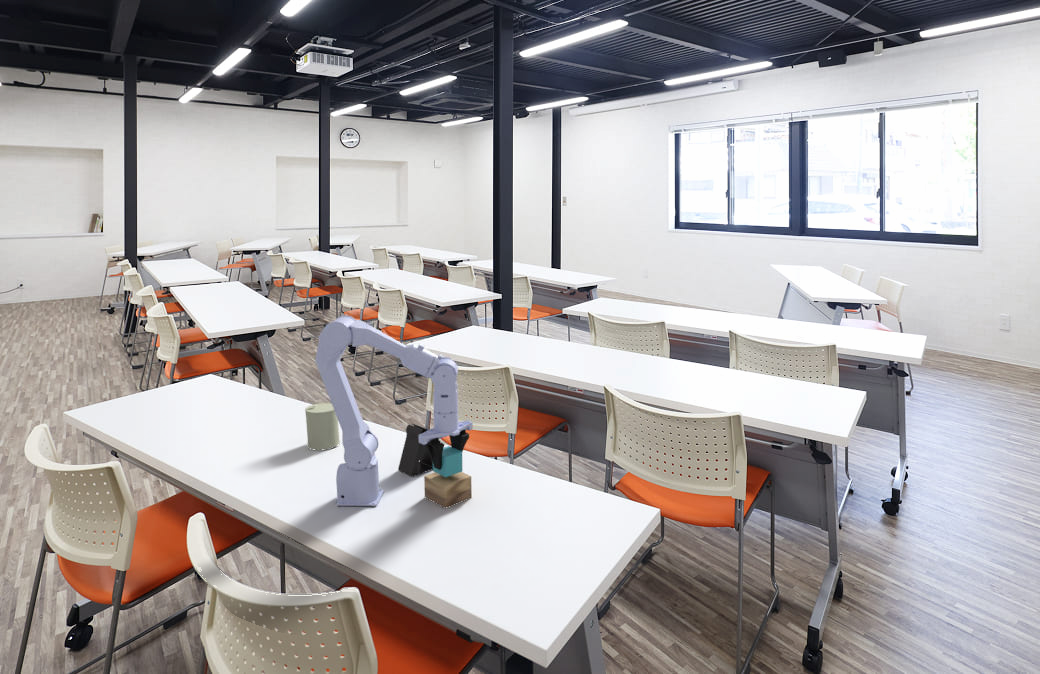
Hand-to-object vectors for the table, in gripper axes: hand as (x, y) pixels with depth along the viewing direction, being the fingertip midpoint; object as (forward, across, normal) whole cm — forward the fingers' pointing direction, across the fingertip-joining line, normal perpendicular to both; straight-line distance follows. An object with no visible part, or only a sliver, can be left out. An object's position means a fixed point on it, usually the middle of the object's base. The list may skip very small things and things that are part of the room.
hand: (447, 464), depth 147 cm
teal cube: (+2, 0, 0) cm, 2 cm away
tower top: (+6, 0, 0) cm, 6 cm away
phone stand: (+9, +5, +19) cm, 22 cm away
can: (+9, -5, +53) cm, 54 cm away
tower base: (+9, 0, 0) cm, 9 cm away
